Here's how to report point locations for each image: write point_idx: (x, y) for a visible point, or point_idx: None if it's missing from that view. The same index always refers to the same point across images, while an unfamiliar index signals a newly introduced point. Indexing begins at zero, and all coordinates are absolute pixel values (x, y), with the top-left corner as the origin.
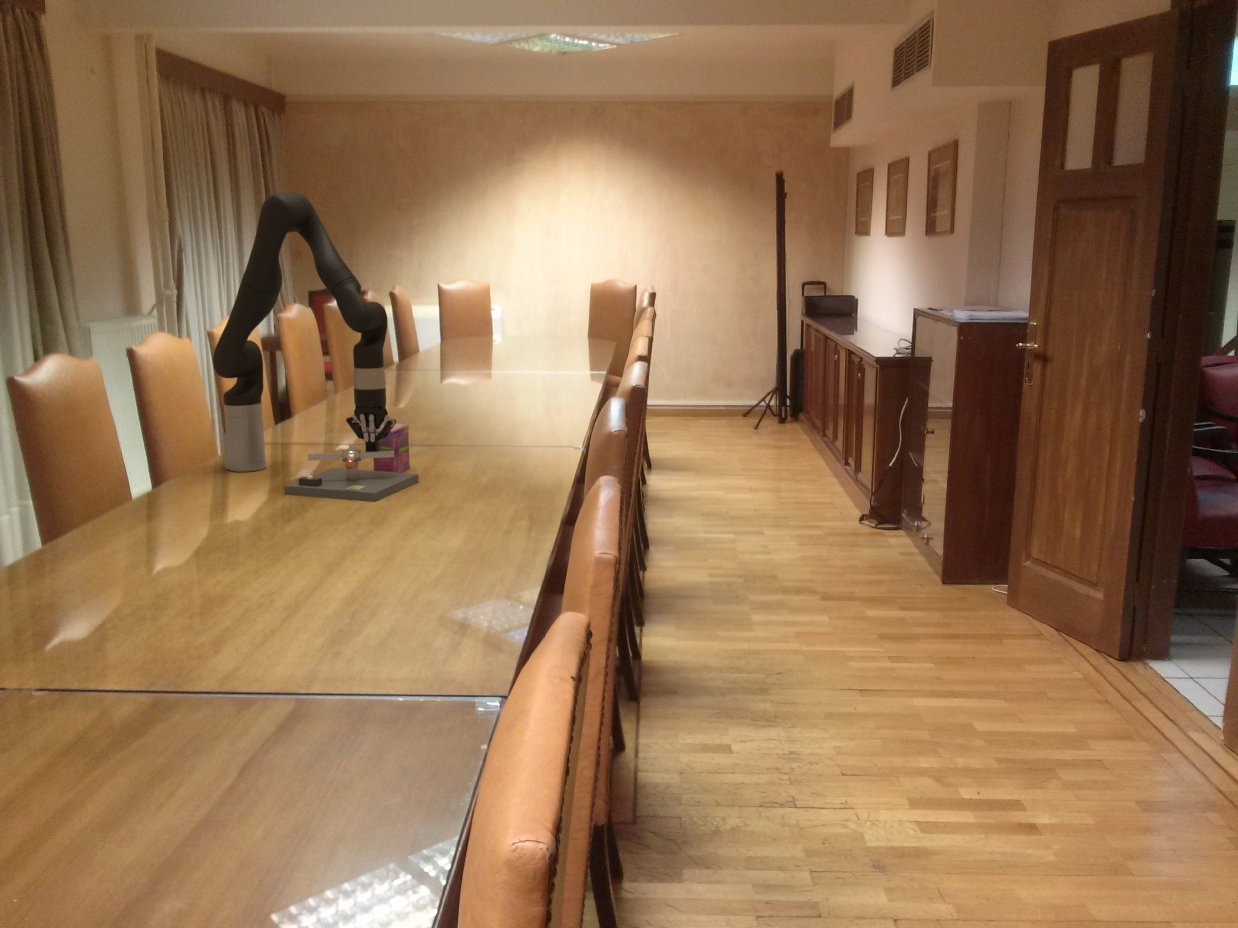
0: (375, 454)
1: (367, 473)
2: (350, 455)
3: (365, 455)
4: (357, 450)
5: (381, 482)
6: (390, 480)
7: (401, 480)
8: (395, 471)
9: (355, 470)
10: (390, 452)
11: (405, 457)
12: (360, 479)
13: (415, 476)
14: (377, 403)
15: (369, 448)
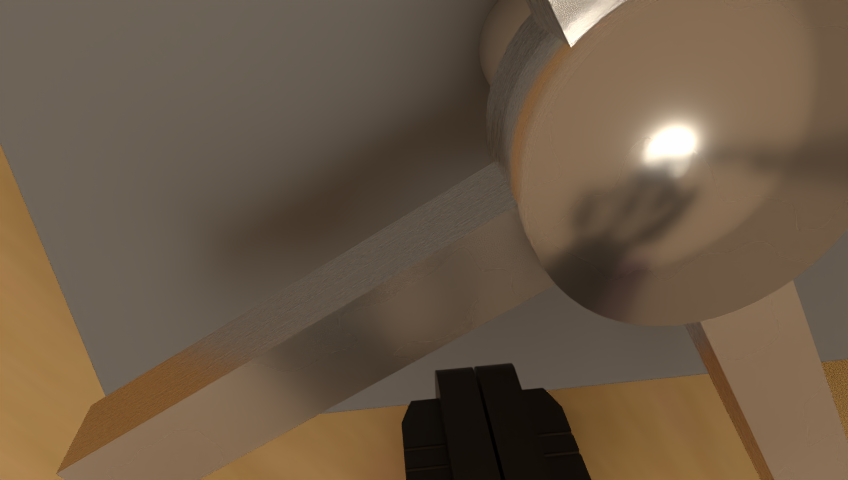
0: (294, 311)
1: (535, 309)
2: None
3: (429, 222)
4: (589, 220)
5: (165, 45)
6: (146, 160)
7: (44, 200)
8: None
9: None
10: (106, 438)
11: None
12: (470, 87)
13: (109, 389)
14: None
15: (500, 445)
